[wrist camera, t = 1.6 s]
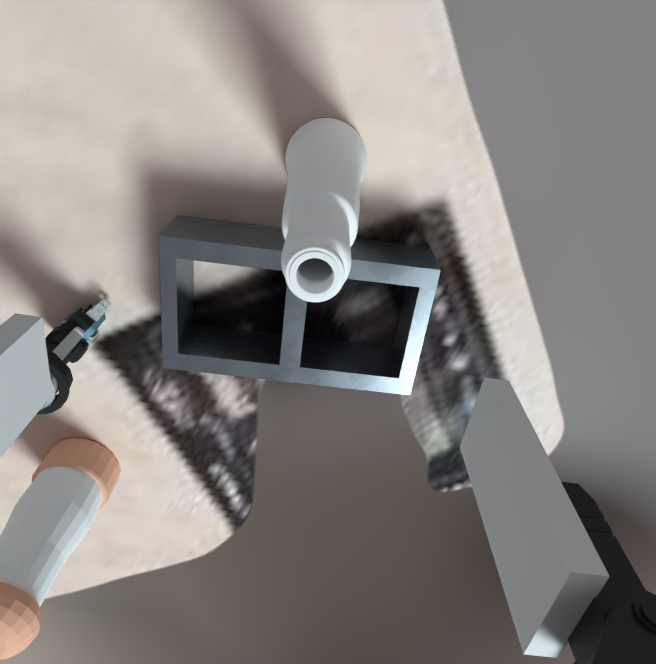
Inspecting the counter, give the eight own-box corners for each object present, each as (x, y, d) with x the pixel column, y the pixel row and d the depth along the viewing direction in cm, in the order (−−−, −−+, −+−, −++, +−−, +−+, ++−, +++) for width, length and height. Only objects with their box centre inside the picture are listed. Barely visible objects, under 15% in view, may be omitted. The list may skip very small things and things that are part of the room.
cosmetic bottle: (280, 194, 40) (226, 334, 20) (291, 110, 37) (240, 179, 17) (358, 208, 40) (377, 358, 21) (375, 126, 37) (415, 210, 18)
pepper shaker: (74, 425, 51) (-57, 612, 34) (134, 466, 53) (41, 659, 36) (34, 463, 53) (-106, 655, 36) (94, 501, 56) (-12, 696, 39)
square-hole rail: (179, 337, 46) (163, 367, 41) (177, 215, 40) (158, 235, 36) (403, 362, 47) (410, 395, 42) (429, 246, 41) (440, 270, 37)
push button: (85, 277, 43) (20, 335, 34) (135, 319, 45) (87, 385, 36) (39, 323, 45) (-32, 389, 37) (90, 362, 47) (33, 434, 38)
